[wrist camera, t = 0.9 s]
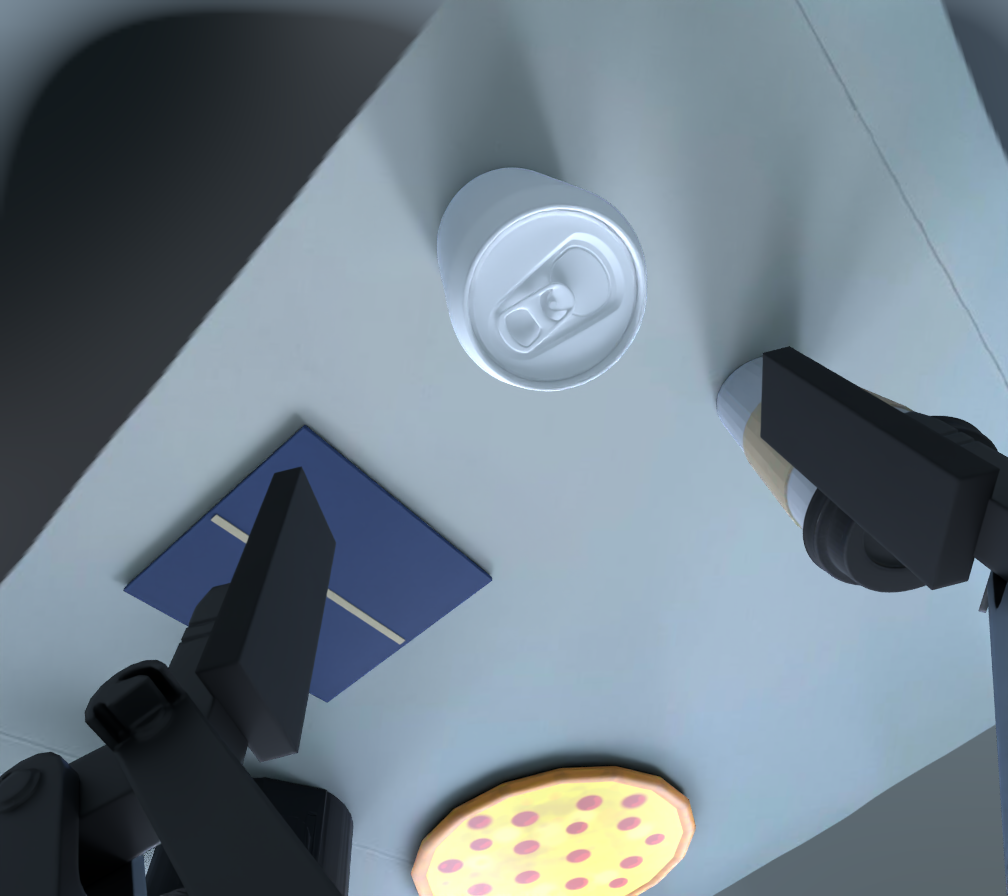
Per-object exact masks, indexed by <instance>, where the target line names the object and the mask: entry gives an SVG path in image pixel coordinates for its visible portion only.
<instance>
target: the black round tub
mask: <svg viewBox="0 0 1008 896" xmlns="http://www.w3.org/2000/svg"><path fill="white" fill-rule="evenodd" d="M253 779H254V781H255V782H256V783H257V785H258V786H259V787H260V789H261V790H262V791H263V792H264V794H265V795H266V796H267V798H268V799H269V800H270V802H271V803H272V804H273V805H274V807H275V808H276V809H277V811H278V812H279V813H280V815H281V816H282V817H283V818H284V820H285V821H286V822H287V824H288V825H289V826H290V828H291V829H292V830H293V831H294V833H295V834H296V835H297V837H298V838H299V839H300V841H301V842H302V843H303V844H304V846H305V847H306V848H307V850H308V851H309V852H310V854H311V855H312V856H313V857H314V859H315V860H316V861H317V863H318V864H319V865H320V867H321V868H322V869H323V870H324V872H325V873H326V874H327V876H328V877H329V878H330V880H331V881H332V882H333V883H334V885H335V886H336V887H337V889H338V890H339V891H340V893H341V894H342V895H343V896H348V888H349V875H350V862H351V849H352V835H353V821H352V817H351V814H350V813H349V811H348V809H347V808H346V806H345V805H344V804H343V803H342V802H341V801H340V800H339V799H338V798H336V797H335V796H334V795H332V794H330V793H328V792H327V790H323V789H318V788H313V787H309V786H304V785H299V784H294V783H289V782H284V781H279V780H274V779H270V778H253ZM145 878H146V890H147V896H189V895H188V893H187V891H186V889H185V888H184V886H183V884H182V882H181V880H180V878H179V876H178V874H177V872H176V870H175V869H174V867H173V865H172V863H171V861H170V859H169V857H168V855H167V853H166V852H165V850H164V848H163V846H162V844H159V845H158V846H156V848H155V851H154V854H153V857H152V860H151V863H150V866H149V869H148V872H147V874H146V877H145Z"/></svg>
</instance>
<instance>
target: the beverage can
mask: <svg viewBox="0 0 1008 896" xmlns="http://www.w3.org/2000/svg"><path fill="white" fill-rule="evenodd" d="M437 257H438V263H439V268H440V273H441V278H442V282H443V287H444V292H445V297H446V301H447V306H448V311H449V315H450V319H451V323H452V326H453V329H454V331H455V334H456V336H457V338H458V340H459V342H460V343H461V345H462V347H463V348H464V350H465V351H466V352H467V354H468V355H469V356H470V357H471V358H472V360H473V361H474V362H475V363H476V364H477V365H478V366H480V367H481V368H482V369H483V370H484V371H486V372H487V373H489V374H490V375H492V376H493V377H495V378H497V379H499V380H501V381H503V382H506V383H508V384H511V385H514V386H518V387H522V388H526V389H531V390H537V391H557V390H564V389H569V388H573V387H576V386H579V385H582V384H584V383H586V382H589V381H591V380H593V379H594V378H596V377H598V376H599V375H601V374H602V373H604V372H605V371H606V370H608V369H609V368H610V367H611V366H612V365H614V364H615V363H616V362H617V361H618V360H619V359H620V357H621V356H622V355H623V354H624V353H625V351H626V350H627V349H628V347H629V346H630V344H631V343H632V341H633V340H634V338H635V336H636V334H637V332H638V330H639V327H640V325H641V322H642V319H643V316H644V312H645V307H646V300H647V271H646V263H645V258H644V254H643V250H642V247H641V245H640V242H639V240H638V237H637V235H636V233H635V232H634V230H633V228H632V227H631V225H630V224H629V222H628V221H627V220H626V218H625V217H624V216H623V215H622V214H621V213H620V211H619V210H618V209H616V208H615V207H614V206H613V205H612V204H611V203H609V202H608V201H607V200H605V199H604V198H602V197H600V196H598V195H597V194H595V193H592V192H590V191H588V190H585V189H583V188H580V187H577V186H574V185H572V184H569V183H566V182H563V181H561V180H558V179H555V178H552V177H550V176H547V175H544V174H541V173H538V172H536V171H532V170H529V169H524V168H501V169H496V170H492V171H489V172H486V173H484V174H482V175H480V176H478V177H476V178H474V179H473V180H471V181H470V182H469V183H467V184H466V185H465V186H464V187H463V188H462V189H461V190H460V191H459V192H458V193H457V194H456V195H455V196H454V198H453V199H452V200H451V202H450V203H449V205H448V207H447V209H446V210H445V213H444V215H443V217H442V220H441V223H440V227H439V231H438V237H437Z"/></svg>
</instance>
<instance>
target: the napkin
mask: <svg viewBox="0 0 1008 896" xmlns="http://www.w3.org/2000/svg"><path fill="white" fill-rule="evenodd" d="M301 466H302V468H303V470H304V473H305V475H306V477H307V479H308V481H309V484H310V486H311V488H312V490H313V492H314V495H315V497H316V499H317V501H318V504H319V506H320V508H321V510H322V512H323V515H324V517H325V519H326V521H327V523H328V526H329V528H330V530H331V532H332V534H333V537H334V539H335V541H336V547H335V553H334V558H333V564H332V569H331V575H330V580H329V586H328V591H327V596H326V602H325V607H324V613H323V618H322V624H321V629H320V635H319V640H318V646H317V651H316V657H315V662H314V668H313V673H312V679H311V684H310V690H309V693H310V694H312V695H314V696H316V697H318V698H320V699H321V700H323V701H325V702H329V701H330V700H331V699H333V698H334V697H336V696H337V695H338V694H340V693H341V692H342V691H344V690H345V689H346V688H348V687H349V686H350V685H352V684H353V683H354V682H356V681H357V680H358V679H360V678H361V677H363V676H364V675H365V674H367V673H368V672H369V671H371V670H372V669H373V668H375V667H376V666H377V665H379V664H380V663H381V662H383V661H384V660H385V659H387V658H388V657H390V656H391V655H392V654H394V653H395V652H396V651H398V650H399V649H400V648H402V647H403V646H404V645H406V644H407V643H408V642H410V641H411V640H412V639H414V638H415V637H417V636H418V635H419V634H421V633H422V632H423V631H425V630H426V629H427V628H429V627H430V626H431V625H433V624H434V623H435V622H437V621H438V620H439V619H441V618H442V617H444V616H445V615H446V614H448V613H449V612H450V611H452V610H453V609H454V608H456V607H457V606H458V605H460V604H461V603H462V602H464V601H465V600H466V599H468V598H469V597H471V596H472V595H473V594H475V593H476V592H477V591H479V590H480V589H481V588H483V587H484V586H485V585H487V584H488V583H489V582H491V581H492V577H491V576H490V575H489V574H487V573H486V572H485V571H484V570H482V569H481V568H480V567H479V566H478V565H476V564H475V563H474V562H473V561H471V560H470V559H469V558H468V557H467V556H465V555H464V554H463V553H462V552H460V551H459V550H458V549H457V548H456V547H454V546H453V545H452V544H451V543H449V542H448V541H447V540H446V539H444V538H443V537H442V536H441V535H440V534H438V533H437V532H436V531H435V530H433V529H432V528H431V527H430V526H429V525H427V524H426V523H425V522H424V521H422V520H421V519H420V518H419V517H417V516H416V515H415V514H414V513H413V512H411V511H410V510H409V509H408V508H406V507H405V506H404V505H403V504H402V503H400V502H399V501H398V500H397V499H395V498H394V497H393V496H392V495H390V494H389V493H388V492H387V491H386V490H384V489H383V488H382V487H381V486H379V485H378V484H377V483H376V482H375V481H373V480H372V479H371V478H370V477H368V476H367V475H366V474H365V473H364V472H362V471H361V470H360V469H359V468H357V467H356V466H355V465H354V464H352V463H351V462H350V461H349V460H348V459H346V458H345V457H344V456H343V455H341V454H340V453H339V452H338V451H337V450H335V449H334V448H333V447H332V446H330V445H329V444H328V443H327V442H325V441H324V440H323V439H322V438H321V437H319V436H318V435H317V434H316V433H314V432H313V431H312V430H311V429H310V428H308V427H307V426H306V425H304V426H303V427H302V428H301V429H299V430H298V431H297V432H296V433H295V434H294V435H293V436H292V437H291V438H289V439H288V440H287V441H286V442H285V443H284V444H283V445H282V446H281V447H280V448H278V449H277V450H276V451H275V452H274V453H273V454H272V455H271V456H270V457H268V458H267V459H266V460H265V461H264V462H263V463H262V464H261V465H260V466H259V467H257V468H256V469H255V470H254V471H253V472H252V473H251V474H250V475H249V476H247V477H246V478H245V479H244V480H243V481H242V482H241V483H240V484H239V485H237V486H236V487H235V488H234V489H233V490H232V491H231V492H230V493H229V494H228V495H226V496H225V497H224V498H223V499H222V500H221V501H220V502H219V503H218V504H216V505H215V506H214V507H213V508H212V509H211V510H210V511H209V512H208V513H207V514H205V515H204V516H203V517H202V518H201V519H200V520H199V521H198V522H197V523H195V524H194V525H193V526H192V527H191V528H190V529H189V530H188V531H187V532H185V533H184V534H183V535H182V536H181V537H180V538H179V539H178V540H177V541H176V542H174V543H173V544H172V545H171V546H170V547H169V548H168V549H167V550H166V551H164V552H163V553H162V554H161V555H160V556H159V557H158V558H157V559H156V560H155V561H153V562H152V563H151V564H150V565H149V566H148V567H147V568H146V569H145V570H143V571H142V572H141V573H140V574H139V575H138V576H137V577H136V578H135V579H134V580H132V581H131V582H130V583H129V584H128V585H127V586H126V587H125V588H124V590H123V591H125V592H127V593H128V594H130V595H132V596H134V597H136V598H137V599H139V600H141V601H143V602H145V603H147V604H148V605H150V606H152V607H154V608H156V609H158V610H159V611H161V612H163V613H165V614H167V615H168V616H170V617H172V618H174V619H176V620H178V621H179V622H181V623H183V624H185V625H187V626H188V627H189V625H188V623H189V621H190V619H191V617H192V614H193V612H194V610H195V608H196V605H197V604H198V603H199V602H200V601H201V600H202V599H203V597H204V596H205V595H206V594H207V593H208V592H209V591H210V590H211V588H212V587H215V586H219V585H223V584H227V583H231V580H232V578H233V575H234V573H235V570H236V568H237V565H238V563H239V560H240V558H241V555H242V553H243V550H244V548H245V545H246V543H247V540H248V538H249V535H250V533H251V530H252V528H253V525H254V523H255V520H256V518H257V515H258V513H259V510H260V507H261V505H262V502H263V500H264V497H265V495H266V492H267V490H268V487H269V485H270V482H271V480H272V477H273V475H274V473H276V472H281V471H285V470H289V469H293V468H297V467H301Z"/></svg>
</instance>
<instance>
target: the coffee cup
mask: <svg viewBox="0 0 1008 896" xmlns="http://www.w3.org/2000/svg"><path fill="white" fill-rule="evenodd" d="M762 366H763V357H759V358H756V359H753V360H751V361H749V362H747V363H745V364H744V365H742V366H741V367H739V368H738V369H737V370H735V371H734V372H733V373H732V374H731V375H730V376H729V377H728V378H727V380H726V381H725V382H724V384H723V385H722V387H721V389H720V391H719V393H718V398H717V411H718V415H719V417H720V420H721V422H722V423H723V425H724V426H725V427H726V429H727V430H728V431H729V433H730V434H731V435H732V437H733V438H734V439H735V441H736V442H737V443H738V445H739V446H740V447H741V448H742V450H743V451H744V453H745V455H746V457H747V460H748V462H749V463H750V464H751V466H752V467H753V468H754V470H755V471H756V472H757V474H758V475H759V476H760V478H761V479H762V480H763V482H764V483H765V484H766V486H767V487H768V488H769V490H770V491H771V492H772V494H773V495H774V496H775V498H776V499H777V500H778V502H779V503H780V504H781V505H782V507H783V508H784V509H785V511H786V512H787V513H788V515H789V516H790V517H791V519H792V520H793V521H794V522H795V524H796V525H797V526H799V527H800V528H801V529H803V540H804V545H805V548H806V551H807V553H808V555H809V557H810V558H811V559H812V561H813V562H814V563H815V564H816V565H817V566H818V567H820V568H821V569H823V570H824V571H826V572H827V573H829V574H830V575H831V576H833V577H834V578H836V579H838V580H840V581H843V582H846V583H849V584H853V585H861V586H863V587H865V588H867V589H870V590H873V591H878V592H902V591H908V590H912V589H916V588H919V587H923V586H925V585H926V584H924V583H923V582H922V581H921V580H920V579H919V578H918V577H917V576H915V575H914V574H913V573H912V572H911V571H910V570H909V569H908V568H906V567H905V566H904V565H903V564H902V563H901V562H900V561H899V560H897V559H896V558H895V557H894V556H893V555H892V554H891V553H890V552H888V551H887V550H886V549H885V548H884V547H883V546H882V545H881V544H880V543H878V542H877V541H876V540H875V539H874V538H873V537H872V536H871V535H869V534H868V533H867V532H866V531H865V530H864V529H863V528H862V527H860V526H859V525H858V524H857V523H856V522H855V521H854V520H853V519H851V518H850V517H849V516H848V515H847V514H846V513H845V512H844V511H843V510H841V509H840V508H839V507H838V506H837V505H836V504H835V503H834V502H832V501H831V500H830V499H829V498H828V497H827V496H826V495H825V494H823V493H822V492H821V491H820V490H819V489H818V488H817V487H816V486H814V485H813V484H812V483H811V482H810V481H809V480H808V479H807V478H805V477H804V476H803V475H802V474H801V473H800V472H799V471H798V470H797V469H795V468H794V467H793V466H792V465H791V464H790V463H789V462H788V461H786V460H785V459H784V458H783V457H782V456H781V455H780V454H779V453H777V452H776V451H775V450H774V449H773V448H772V447H771V446H770V445H768V444H767V443H766V442H765V441H764V440H763V439H762V438H761V437H760V431H761V399H762ZM862 389H863V388H862ZM864 390H865V389H864ZM865 391H867V392H869V393H870V394H872V395H874V396H876V397H877V398H879V399H881V400H882V401H884V402H886V403H888V404H889V405H891V406H893V407H894V408H896V409H898V410H900V411H901V412H903V413H906V412H910V411H913V410H911V409H909V408H907V407H906V406H904V405H901V404H899V403H896V402H894V401H892V400H889V399H887V398H884V397H882V396H880V395H877V394H875V393H872V392H870V391H868V390H865ZM931 417H934V418H938V419H940V420H941V421H943V422H945V423H947V424H949V425H950V426H952V427H954V428H956V429H958V432H963V433H965V434H967V435H969V436H970V437H972V438H974V441H979V442H981V443H983V444H985V445H987V446H988V447H990V448H992V449H994V450H996V451H997V449H996V447H995V445H994V444H993V443H992V441H991V440H990V439H988V438H987V437H986V436H985V435H983V434H982V433H981V432H980V431H979V430H978V429H977V428H976V427H975V426H973V425H972V424H970V423H968V422H966V421H964V420H961V419H958V418H954V417H948V416H931ZM997 452H998V451H997Z"/></svg>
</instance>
